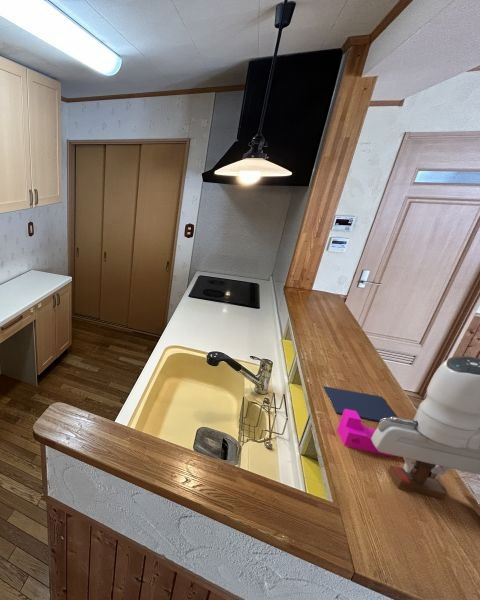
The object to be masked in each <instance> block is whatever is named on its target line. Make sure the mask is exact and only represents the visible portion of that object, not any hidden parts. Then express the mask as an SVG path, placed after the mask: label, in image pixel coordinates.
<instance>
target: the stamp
mask: <svg viewBox="0 0 480 600" xmlns="http://www.w3.org/2000/svg"><path fill="white" fill-rule="evenodd" d="M414 465H415V467H416V468H417V471H416V472H415V474H411V473H407V472H406V471H405V470H404V468H403V467H398V466H393V465H390V466H389V467H388V471H387V473H388V474H389V476H390V477H391V479H392V482H393V483H394V484H395V486H396V488H397V489H398V490H402V491H406V492H410V493H414V494H417V495H422V496H425V497H429V498H433V497H434V498H433V499H437V498H439V499H438V500H441V499H442V501H443V500H444V499H445V497H446V495H447V492H446V491H445V490H444V489H443V487H442V485H441V484H440V483H439V482H438V479H437V480H436V479H433V478H429V477H428V476H429V474H430V472H431V470H432V469H433V468H435V467H436V465H435V464H430V463H426V462H421V461H417V460H415V462H414Z"/></svg>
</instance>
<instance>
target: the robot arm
mask: <svg viewBox="0 0 480 600" xmlns="http://www.w3.org/2000/svg"><path fill="white" fill-rule="evenodd" d="M371 440H372V442H373V444H374V446H375V447H376V449H377V450H378V451H379V452H382V453H386V454H390V455H393V456H395V457H396V456H397V457H400V458H403V460H404V463H403V467H402V468H403V469H404V470H405V471H406V472H407V473H411V474H415V472H416V471H417V468H416V467H415V463H416V460H417V461H421V462H426V463H430V464H435V465H436V467H435V468H433V469H432V470H431V472H430V474H429V476H428V477H429V478H433V479H436V480H437V481H438V480H439V478H440V476H442V475H444V474H446V473H449V472H451V471H452V470H458V471H462V472H466V473H471V474H475V475H478V476H480V358H479V357H473V356H464V355H461V356H460V355H459V356H452V357H448V358H447V359H446V360H444V361H443V362H442V363H441V364H440V365H439V367H438V368H437V369H436V370H435V372H434V374H433V376H432V377H431V379H430V381H429V383H428V385H427V388H426V397H425V398H424V399H423V400H422V401H421V402H420V404H419V405H418V408H417V410H416V412H415V415H414V416H413V419H407V418H402V417H401V418H400V417H398V416H397V417H390V418H384V419H381V420H380V422H378V426H377V427H376V428H375V432H374V434H373V436H372V438H371Z"/></svg>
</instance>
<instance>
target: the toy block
mask: <svg viewBox="0 0 480 600" xmlns="http://www.w3.org/2000/svg"><path fill="white" fill-rule="evenodd" d="M375 430H376V428H372V427H368V426H366V425H365V424H364V423H362V419H361V418H360V417H359V415H358V413H357V412H356V411H353V410H348V409H344V411H343V414H341V417H340V420H339V424H338V426H337V429H336V431H337V433H338V435H339V438H340V439H341V442H342V444H343V445H344V446H345V447H349V448H352V449H357V450H360V451H361V450H362V451H366V452H369V453H375V454H379V455H382V456H386V457H387V456H388V457H391V458H393V457H394V455H390V454H386V453H382V452H379V451H378V450H377V449H376V447H375V446H374V444H373V442H372V440H371V438H372V436H373V434H374V432H375Z"/></svg>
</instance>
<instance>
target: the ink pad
mask: <svg viewBox="0 0 480 600" xmlns="http://www.w3.org/2000/svg"><path fill="white" fill-rule="evenodd" d="M323 387H324V388H323V390H324V389H325V390H324V392H325V391H326V392H325V394H326V393H327V394H326V395H328V396H327V397H329V398H330V400H331V402H332V403H331V402H330V403H331V405H332V404H333V405H332V407H333V410H334V412H335V413H336V414H337V415H342V414H343V411H344V409H348V410H353V411H356V412H357V413H358V415H359V417H360V419H361V420H367V421H372V422H377V423H379V422H380V420H381V419H384V418H390V417H398V416H397V415H396V414H395V412H394V410H393V409H392V408H391V407H390V406H389V404H388V403H387V401H386V400H385V399H384V397H383V396H380V395H374V394H370V393H365V392H357V391H352V390H347V389H341V388H336V387H330V386H325V385H324V386H323ZM329 398H328V399H329ZM330 400H329V401H330Z"/></svg>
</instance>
